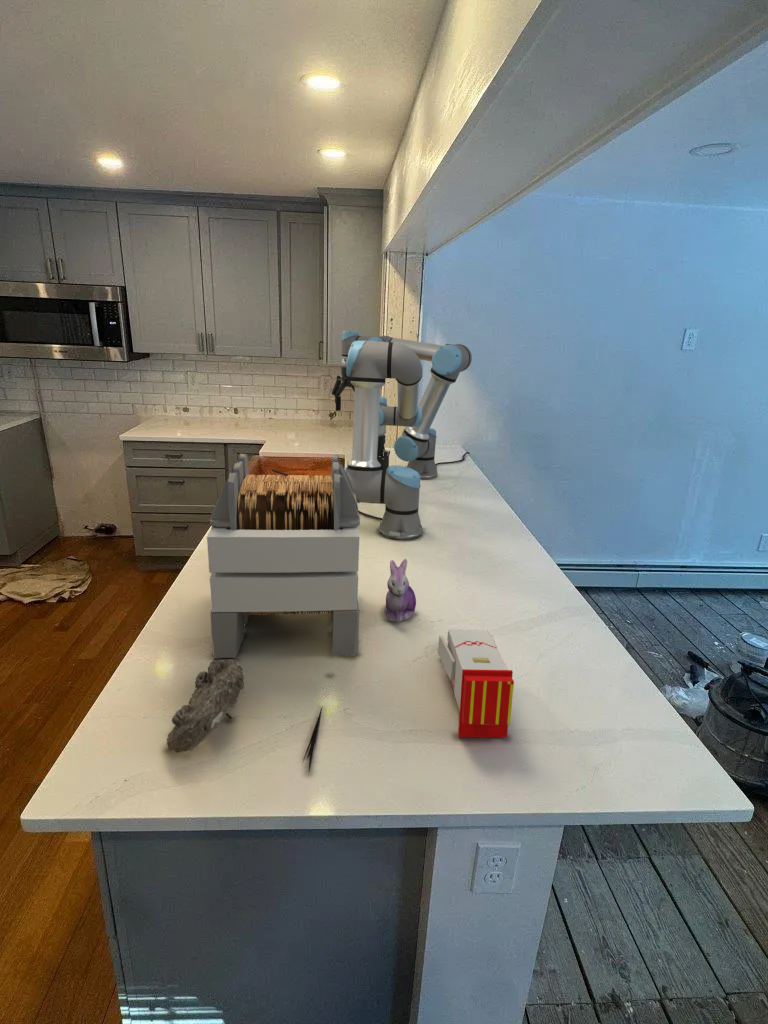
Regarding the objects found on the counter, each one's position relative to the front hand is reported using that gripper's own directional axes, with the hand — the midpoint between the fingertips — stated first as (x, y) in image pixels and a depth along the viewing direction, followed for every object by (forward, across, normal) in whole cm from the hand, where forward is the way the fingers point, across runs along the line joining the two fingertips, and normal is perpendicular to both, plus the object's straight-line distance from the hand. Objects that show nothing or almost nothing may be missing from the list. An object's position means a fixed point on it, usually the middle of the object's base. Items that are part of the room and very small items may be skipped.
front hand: (374, 487), depth 245 cm
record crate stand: (+3, +54, -97) cm, 111 cm away
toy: (+3, +103, -90) cm, 137 cm away
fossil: (+3, +70, -130) cm, 148 cm away
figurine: (+3, +73, -75) cm, 105 cm away
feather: (+3, +86, -117) cm, 145 cm away
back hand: (-26, -31, +16) cm, 43 cm away
